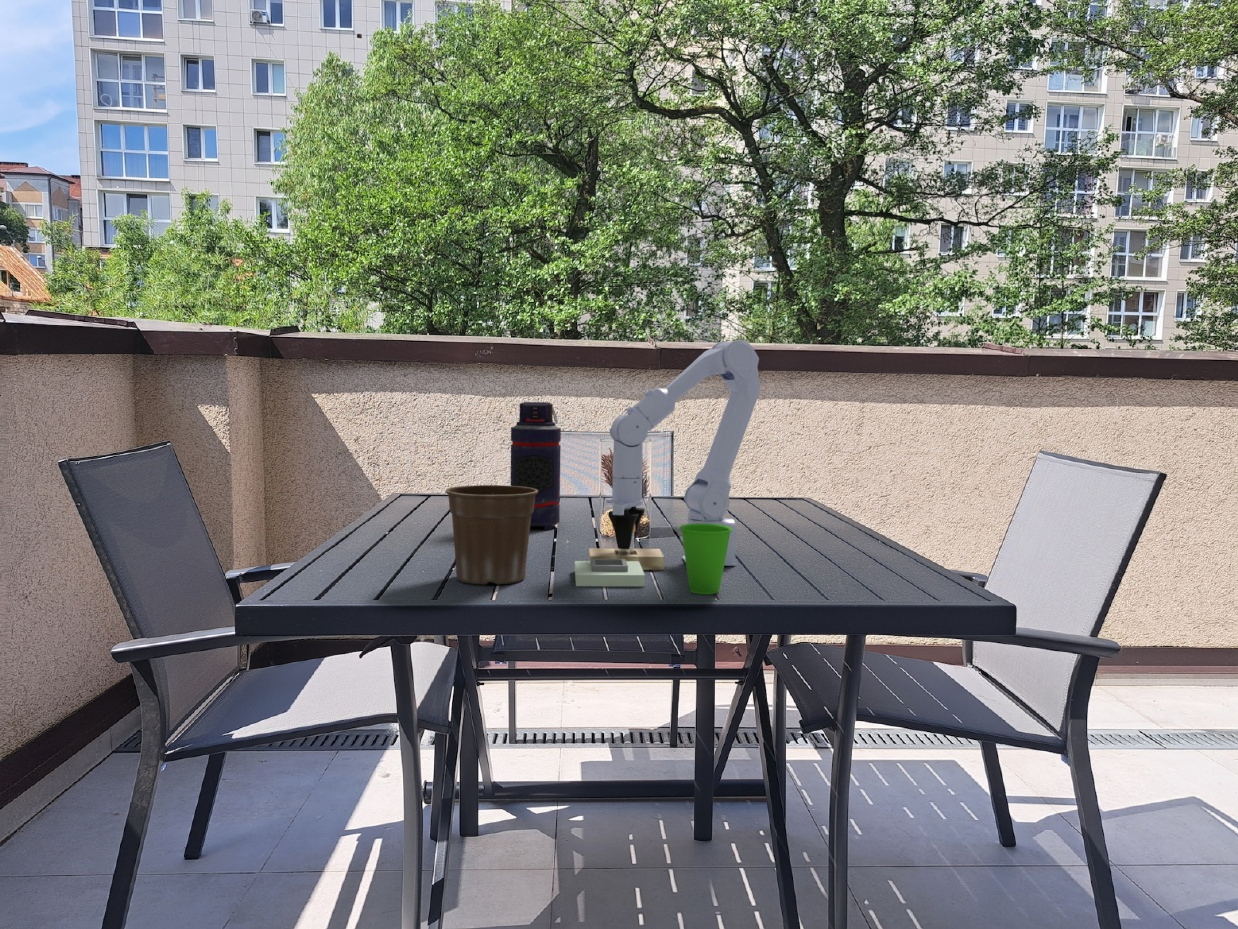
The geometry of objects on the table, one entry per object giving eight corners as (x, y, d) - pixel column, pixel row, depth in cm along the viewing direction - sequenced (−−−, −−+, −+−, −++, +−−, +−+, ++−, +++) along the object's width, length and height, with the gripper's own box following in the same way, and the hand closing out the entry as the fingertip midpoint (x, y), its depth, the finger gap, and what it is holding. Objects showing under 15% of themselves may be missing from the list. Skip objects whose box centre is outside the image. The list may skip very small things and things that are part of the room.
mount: (659, 561, 181) (659, 548, 181) (663, 569, 173) (664, 556, 173) (588, 560, 180) (589, 548, 180) (590, 569, 172) (590, 556, 172)
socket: (638, 571, 171) (638, 556, 170) (644, 586, 159) (645, 569, 158) (574, 571, 170) (574, 555, 169) (576, 586, 158) (576, 569, 157)
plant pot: (481, 565, 174) (482, 481, 172) (553, 575, 166) (555, 487, 165) (426, 581, 159) (426, 490, 158) (502, 593, 152) (503, 497, 150)
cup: (739, 595, 153) (741, 531, 152) (688, 598, 151) (690, 532, 150) (718, 583, 162) (720, 522, 161) (670, 586, 159) (672, 524, 158)
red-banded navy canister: (558, 531, 214) (559, 403, 211) (507, 530, 213) (508, 402, 211) (560, 522, 227) (562, 402, 225) (513, 521, 227) (514, 401, 224)
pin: (633, 562, 178) (634, 522, 177) (635, 566, 175) (636, 525, 174) (616, 562, 178) (617, 522, 177) (617, 566, 175) (618, 525, 174)
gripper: (616, 472, 183) (615, 539, 184) (597, 480, 169) (596, 552, 170) (650, 474, 181) (649, 541, 182) (634, 482, 167) (632, 554, 168)
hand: (626, 547), depth 176 cm, fingers closed on pin, 3 cm apart
